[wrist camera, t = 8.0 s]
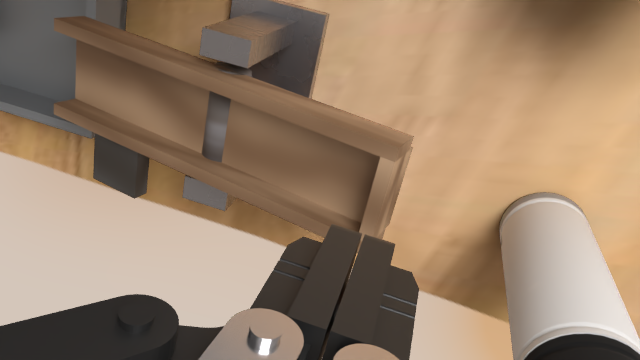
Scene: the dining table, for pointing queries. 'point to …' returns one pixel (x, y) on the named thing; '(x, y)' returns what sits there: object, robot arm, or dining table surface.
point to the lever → (229, 133)
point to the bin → (45, 55)
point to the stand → (263, 58)
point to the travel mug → (560, 285)
